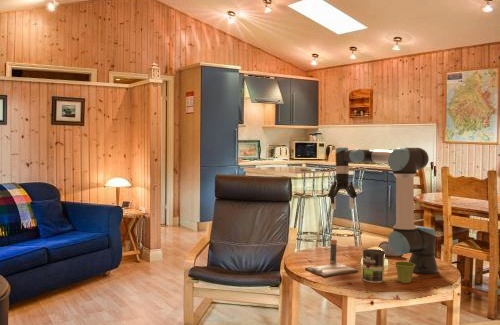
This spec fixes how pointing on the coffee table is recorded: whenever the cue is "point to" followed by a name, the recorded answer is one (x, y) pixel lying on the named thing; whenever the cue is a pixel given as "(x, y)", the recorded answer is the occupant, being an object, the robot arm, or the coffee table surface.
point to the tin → (388, 249)
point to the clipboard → (331, 270)
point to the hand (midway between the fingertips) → (342, 209)
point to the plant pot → (404, 271)
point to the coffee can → (373, 265)
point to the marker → (333, 251)
